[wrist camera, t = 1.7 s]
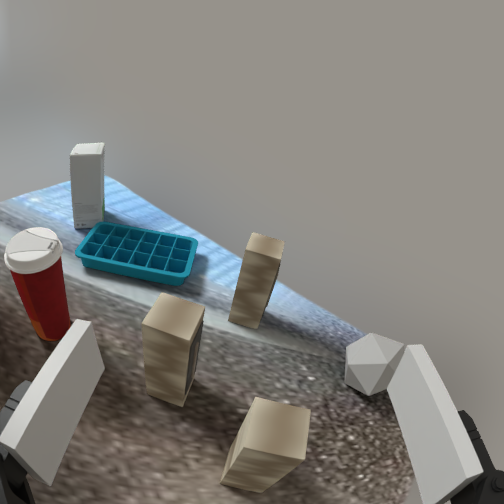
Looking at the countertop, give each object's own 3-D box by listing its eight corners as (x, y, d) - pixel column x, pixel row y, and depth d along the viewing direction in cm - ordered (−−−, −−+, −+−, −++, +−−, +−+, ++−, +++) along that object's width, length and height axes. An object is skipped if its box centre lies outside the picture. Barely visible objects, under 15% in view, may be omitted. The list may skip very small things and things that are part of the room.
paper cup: (82, 310, 40) (69, 227, 33) (70, 351, 34) (47, 267, 27) (37, 303, 38) (18, 222, 31) (21, 342, 32) (-10, 259, 25)
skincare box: (102, 229, 58) (102, 154, 49) (71, 229, 55) (68, 155, 47) (105, 209, 64) (106, 141, 55) (77, 209, 61) (75, 142, 53)
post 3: (219, 483, 26) (243, 446, 19) (229, 449, 29) (255, 396, 22) (264, 493, 25) (308, 460, 18) (271, 459, 29) (314, 410, 22)
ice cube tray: (99, 233, 57) (98, 220, 55) (197, 252, 59) (199, 238, 57) (74, 268, 47) (72, 254, 45) (186, 292, 49) (188, 278, 48)
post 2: (227, 320, 46) (245, 249, 39) (235, 301, 50) (252, 232, 43) (259, 330, 46) (283, 260, 39) (264, 310, 50) (286, 242, 42)
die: (387, 370, 44) (383, 314, 43) (415, 396, 35) (415, 332, 34) (339, 388, 44) (331, 331, 43) (360, 419, 35) (354, 355, 34)
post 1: (147, 393, 33) (141, 323, 26) (160, 366, 37) (161, 292, 30) (185, 408, 33) (193, 341, 26) (196, 379, 36) (208, 307, 29)
